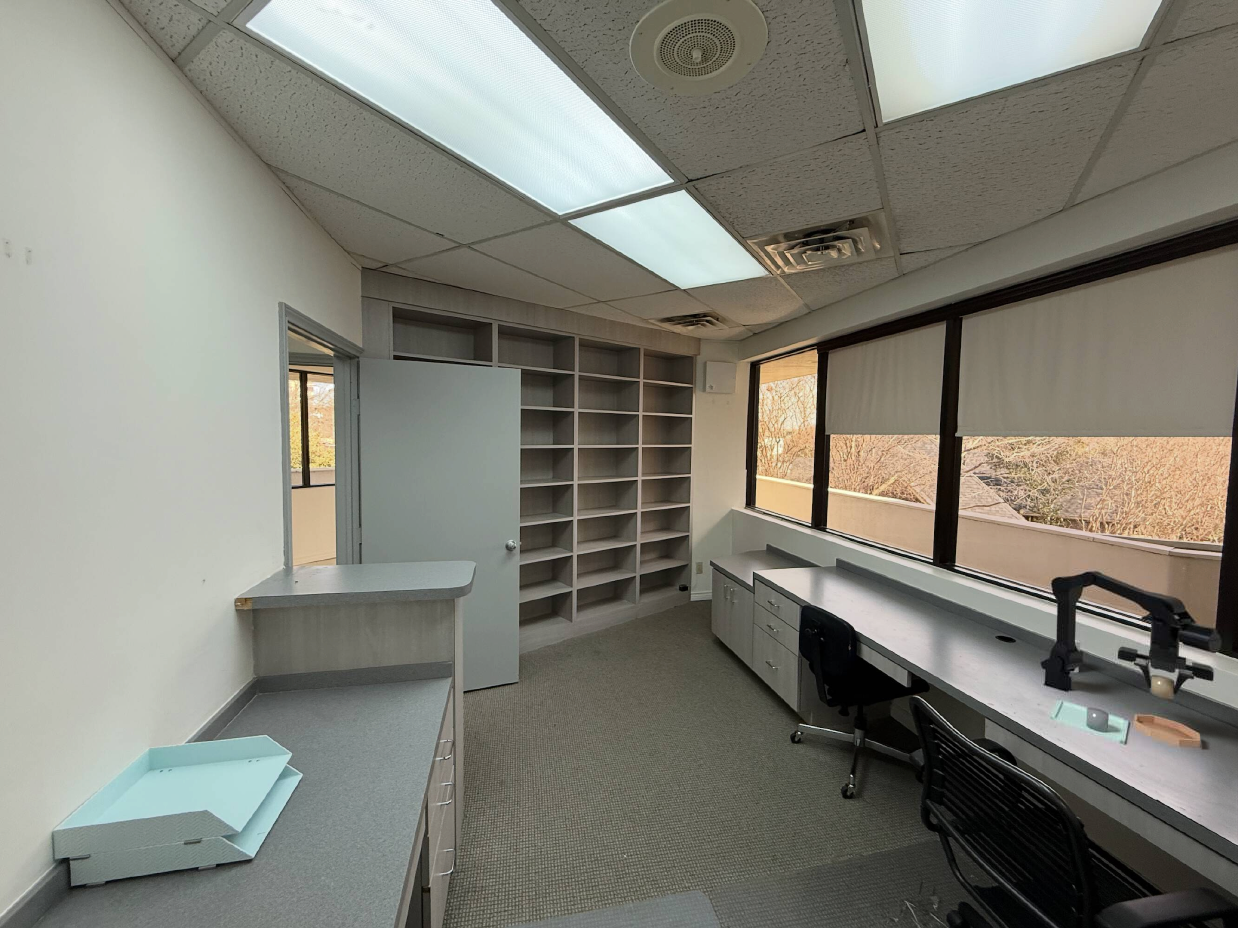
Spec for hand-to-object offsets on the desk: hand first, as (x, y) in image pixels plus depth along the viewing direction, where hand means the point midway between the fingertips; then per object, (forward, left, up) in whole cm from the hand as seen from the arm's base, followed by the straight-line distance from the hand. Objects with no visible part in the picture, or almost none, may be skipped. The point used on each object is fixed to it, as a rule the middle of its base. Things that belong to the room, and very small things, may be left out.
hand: (1162, 690), depth 144 cm
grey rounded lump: (-12, -14, -12) cm, 22 cm away
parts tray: (-14, -11, -12) cm, 22 cm away
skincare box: (-24, +33, -13) cm, 43 cm away
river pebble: (0, 0, -1) cm, 1 cm away
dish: (+1, -2, -12) cm, 12 cm away
